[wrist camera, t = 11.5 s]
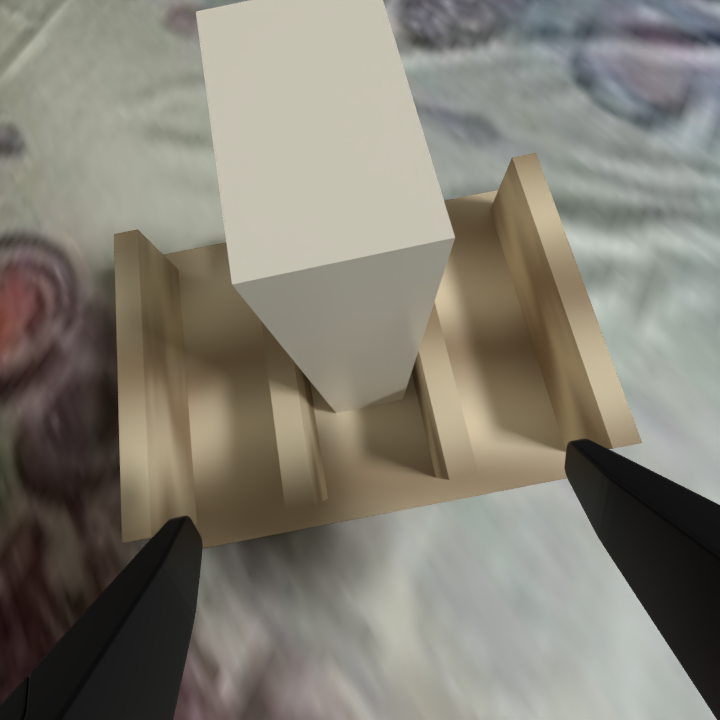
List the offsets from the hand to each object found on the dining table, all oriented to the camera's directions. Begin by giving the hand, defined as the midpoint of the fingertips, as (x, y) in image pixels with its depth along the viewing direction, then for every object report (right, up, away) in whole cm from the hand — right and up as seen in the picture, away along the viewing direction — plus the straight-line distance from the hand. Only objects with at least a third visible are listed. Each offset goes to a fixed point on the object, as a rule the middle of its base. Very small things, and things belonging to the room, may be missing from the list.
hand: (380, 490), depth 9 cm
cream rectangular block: (-1, +3, +9) cm, 10 cm away
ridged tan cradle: (-1, +3, +10) cm, 11 cm away
